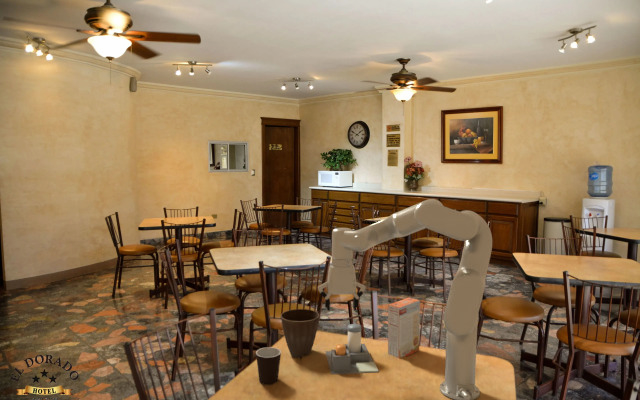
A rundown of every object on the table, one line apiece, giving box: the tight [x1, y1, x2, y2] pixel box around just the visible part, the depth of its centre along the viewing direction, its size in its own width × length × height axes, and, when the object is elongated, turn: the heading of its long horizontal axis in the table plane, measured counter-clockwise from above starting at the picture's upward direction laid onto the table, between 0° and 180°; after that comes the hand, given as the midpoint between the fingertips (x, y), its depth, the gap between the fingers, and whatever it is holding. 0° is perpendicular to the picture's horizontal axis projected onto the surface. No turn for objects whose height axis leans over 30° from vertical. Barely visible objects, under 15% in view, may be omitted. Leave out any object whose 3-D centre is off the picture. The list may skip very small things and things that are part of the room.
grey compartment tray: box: [325, 343, 379, 375], centre depth 174 cm, size 20×17×6 cm
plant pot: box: [280, 308, 320, 359], centre depth 182 cm, size 15×15×16 cm
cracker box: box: [387, 297, 421, 359], centre depth 183 cm, size 14×6×21 cm, turn 134°
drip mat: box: [356, 361, 379, 374], centre depth 169 cm, size 7×7×1 cm
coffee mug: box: [255, 346, 282, 386], centre depth 162 cm, size 12×9×10 cm
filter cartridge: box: [347, 323, 362, 353], centre depth 178 cm, size 5×5×12 cm
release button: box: [335, 343, 346, 356], centre depth 168 cm, size 4×4×4 cm
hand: (341, 309), depth 168 cm, fingers open, 9 cm apart
